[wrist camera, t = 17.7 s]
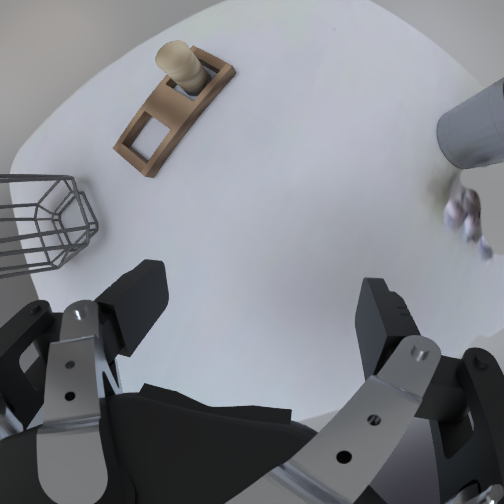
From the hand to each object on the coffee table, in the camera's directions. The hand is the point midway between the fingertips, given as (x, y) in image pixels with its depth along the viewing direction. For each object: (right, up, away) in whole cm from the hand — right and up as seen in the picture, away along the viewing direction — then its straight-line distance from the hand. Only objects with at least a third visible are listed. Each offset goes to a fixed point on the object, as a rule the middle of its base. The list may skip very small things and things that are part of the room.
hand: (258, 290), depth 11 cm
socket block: (-12, +23, +27) cm, 37 cm away
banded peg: (-8, +27, +25) cm, 38 cm away
